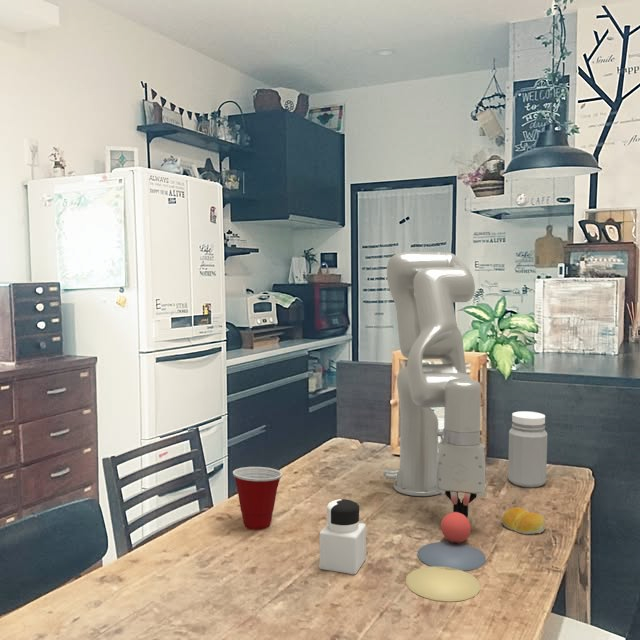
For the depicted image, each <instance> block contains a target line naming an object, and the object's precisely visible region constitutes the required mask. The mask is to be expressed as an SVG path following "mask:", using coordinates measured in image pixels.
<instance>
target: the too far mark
mask: <svg viewBox="0 0 640 640" xmlns="http://www.w3.org/2000/svg"><path fill="white" fill-rule="evenodd" d="M442 568H444V569H442ZM446 568H447V567H439V566H434V567H431V566H426V567H421V568H417V569H414V570H413V571H412V570H411V572H410V573H408V574H407V576H406V577H405V583H406V584H405V585H406V587H407V588H408V589H409V591H411V592H412V593H414V594H415V595H417V596H419V597H421V598H424V599H427V600H431V601H436V602H446V603H448V602H449V603H455V602H463V601H467V600H470V599H472V598H474V597H476V596H477V595H478V594H479V593H480V591H481V584H480V582H479V579H477V578H476V577H475V576H474V575H473V574H470V573H469V572H468V571H461V570H458V569H454V568H449V567H448V568H447V569H446ZM448 569H450V570H448ZM451 569H452V570H451Z"/></svg>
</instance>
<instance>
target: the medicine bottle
mask: <svg viewBox="0 0 640 640" xmlns="http://www.w3.org/2000/svg"><path fill="white" fill-rule="evenodd" d="M366 535H367V525H366V523H363V522H362V523H361V522H360V505H359V503H357V502H356V501H354V500H351V499H345V498H340V499H334V500H332V501H329V503H328V504H327V506H326V525H325V526H324V527H323V528H322V529H321V531H320V532H319V549H318V551H319V553H318V554H319V559H318V561H319V564H318V565H319V569H320V570H323V571H330V572H337V573H343V574H350V575H356V574H357V573H358V571H359V570H360V568H361V567H362V565H363V564H364V563H365V561H366V559H367V556H366V555H367V554H366V553H367V551H366V550H367V545H366V544H367V536H366Z"/></svg>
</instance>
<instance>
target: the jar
mask: <svg viewBox="0 0 640 640" xmlns="http://www.w3.org/2000/svg"><path fill="white" fill-rule="evenodd" d="M511 414H512V415H511V421H512V423H511V428H510V429H509V431H508V461H507V462H508V463H507V464H508V465H507V466H508V467H507V479H508V481H510V483H512V484H513V485H515V486H519V487H521V488H522V487H523V488H539V487H542V486H543V485H544V484H546V482H547V462H548V459H547V458H548V432H547V431H546V430H545V429H546V415H545V414H544V413H540V412H537V411H526V410H524V411H523V410H522V411H521V410H520V411H516V412H512V413H511Z"/></svg>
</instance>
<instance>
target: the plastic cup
mask: <svg viewBox="0 0 640 640" xmlns="http://www.w3.org/2000/svg"><path fill="white" fill-rule="evenodd" d="M283 474H284V473H283V472H282V471H280V470H278V469H276V468H271V467H265V466H247V467H246V466H245V467H239V468H236V469H234V470H233V471H232V475H233V478H234V480H235V483H236V484H235V485H236V489H237V496H238V502H239V507H240V511H241V517H242V518H241V519H242V523H243V525H244V528H245V529H247V530H251V531H252V530H253V531H260V530H261V531H262V530H265V529H268V528H270V526H271V523H272V519H273V512H274V509H275V503H276V498H277V492H278V487H279V484H280V480H281V478H282V477H283Z"/></svg>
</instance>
